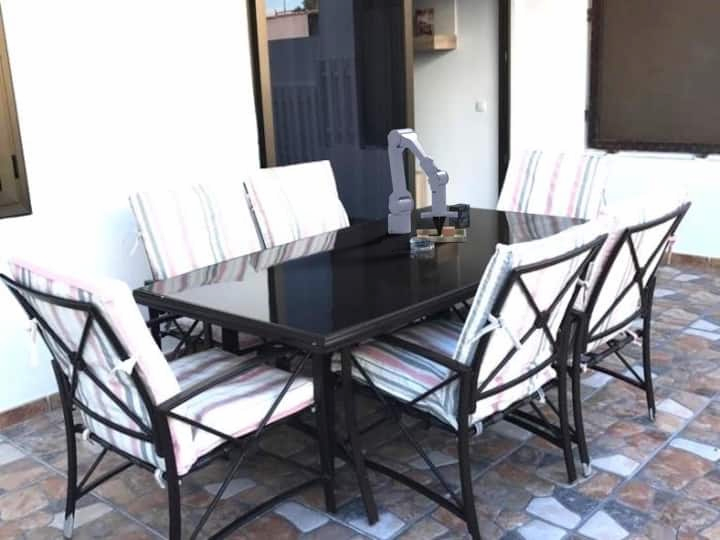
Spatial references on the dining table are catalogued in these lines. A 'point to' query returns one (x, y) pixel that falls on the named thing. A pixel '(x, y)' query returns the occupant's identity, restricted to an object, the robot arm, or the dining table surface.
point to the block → (448, 232)
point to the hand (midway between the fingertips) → (439, 235)
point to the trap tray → (459, 236)
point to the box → (460, 216)
